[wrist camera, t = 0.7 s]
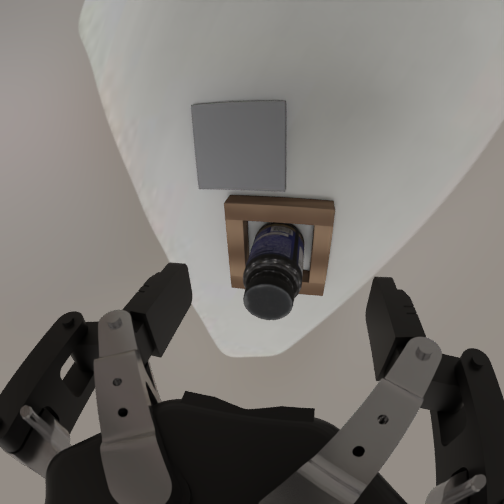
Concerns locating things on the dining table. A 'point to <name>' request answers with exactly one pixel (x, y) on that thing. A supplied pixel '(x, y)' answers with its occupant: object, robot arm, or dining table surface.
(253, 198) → the walnut holder
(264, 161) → the grey pad
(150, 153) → the dining table surface
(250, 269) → the pill bottle
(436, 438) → the robot arm
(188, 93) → the dining table surface
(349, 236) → the dining table surface
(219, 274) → the dining table surface
